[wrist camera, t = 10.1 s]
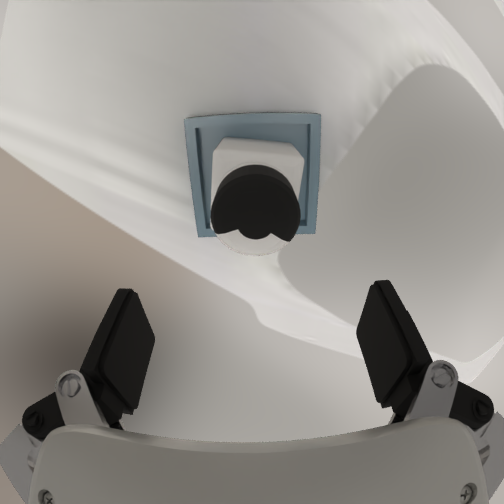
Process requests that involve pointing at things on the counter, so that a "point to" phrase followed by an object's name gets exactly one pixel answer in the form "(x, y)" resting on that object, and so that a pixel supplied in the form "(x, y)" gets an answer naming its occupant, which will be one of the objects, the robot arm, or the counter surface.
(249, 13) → the counter surface
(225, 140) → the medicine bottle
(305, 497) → the robot arm
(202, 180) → the tray
